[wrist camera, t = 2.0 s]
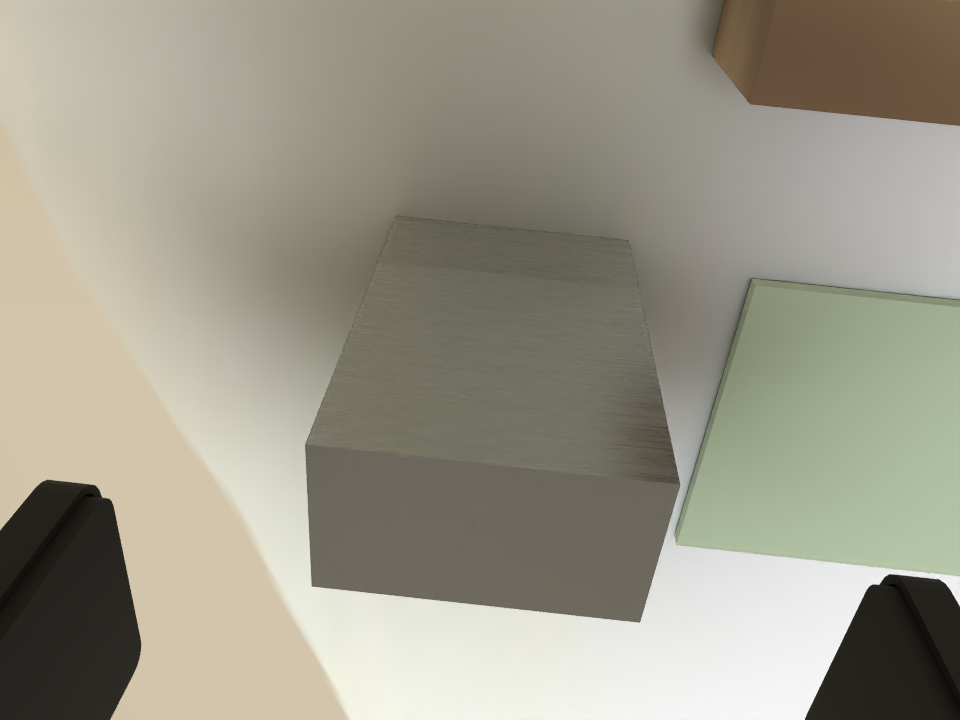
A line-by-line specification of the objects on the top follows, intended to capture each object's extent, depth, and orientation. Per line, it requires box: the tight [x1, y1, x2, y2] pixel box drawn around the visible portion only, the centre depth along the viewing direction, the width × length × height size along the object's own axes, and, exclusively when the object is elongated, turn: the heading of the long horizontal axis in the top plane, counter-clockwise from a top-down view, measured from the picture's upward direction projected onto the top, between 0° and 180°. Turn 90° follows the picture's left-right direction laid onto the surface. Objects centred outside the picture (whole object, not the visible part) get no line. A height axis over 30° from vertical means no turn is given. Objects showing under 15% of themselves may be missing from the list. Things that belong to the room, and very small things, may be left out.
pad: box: [675, 279, 960, 576], centre depth 17 cm, size 7×10×1 cm, turn 85°
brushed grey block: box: [305, 216, 680, 622], centre depth 15 cm, size 8×4×7 cm, turn 175°
